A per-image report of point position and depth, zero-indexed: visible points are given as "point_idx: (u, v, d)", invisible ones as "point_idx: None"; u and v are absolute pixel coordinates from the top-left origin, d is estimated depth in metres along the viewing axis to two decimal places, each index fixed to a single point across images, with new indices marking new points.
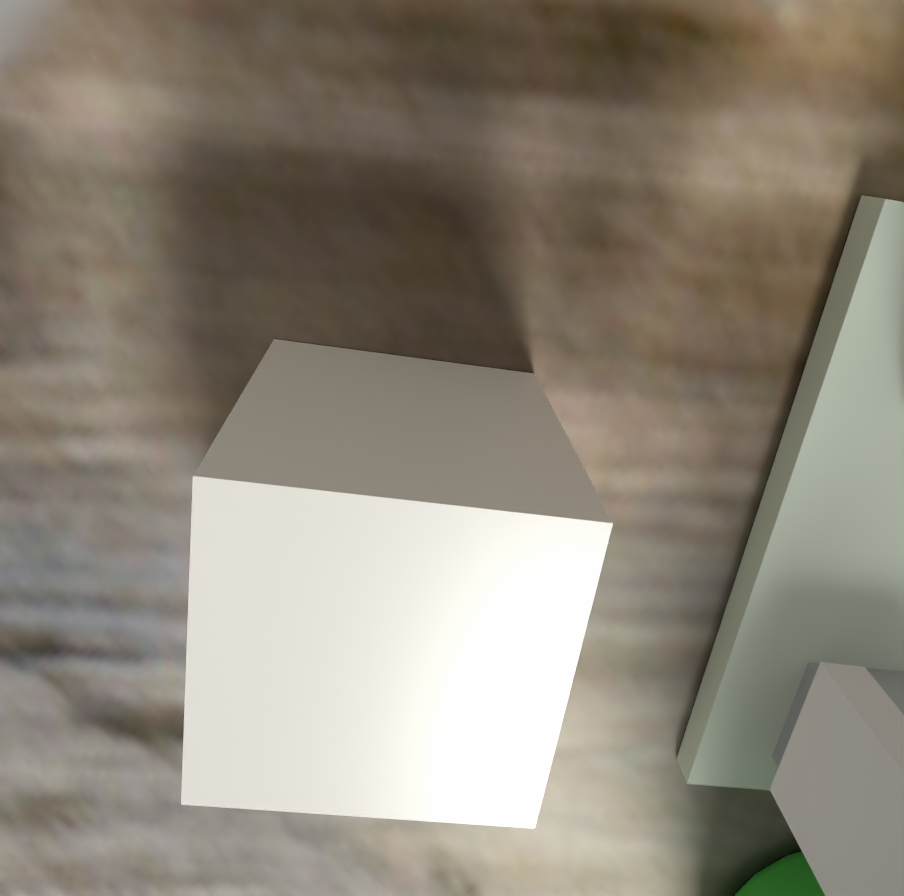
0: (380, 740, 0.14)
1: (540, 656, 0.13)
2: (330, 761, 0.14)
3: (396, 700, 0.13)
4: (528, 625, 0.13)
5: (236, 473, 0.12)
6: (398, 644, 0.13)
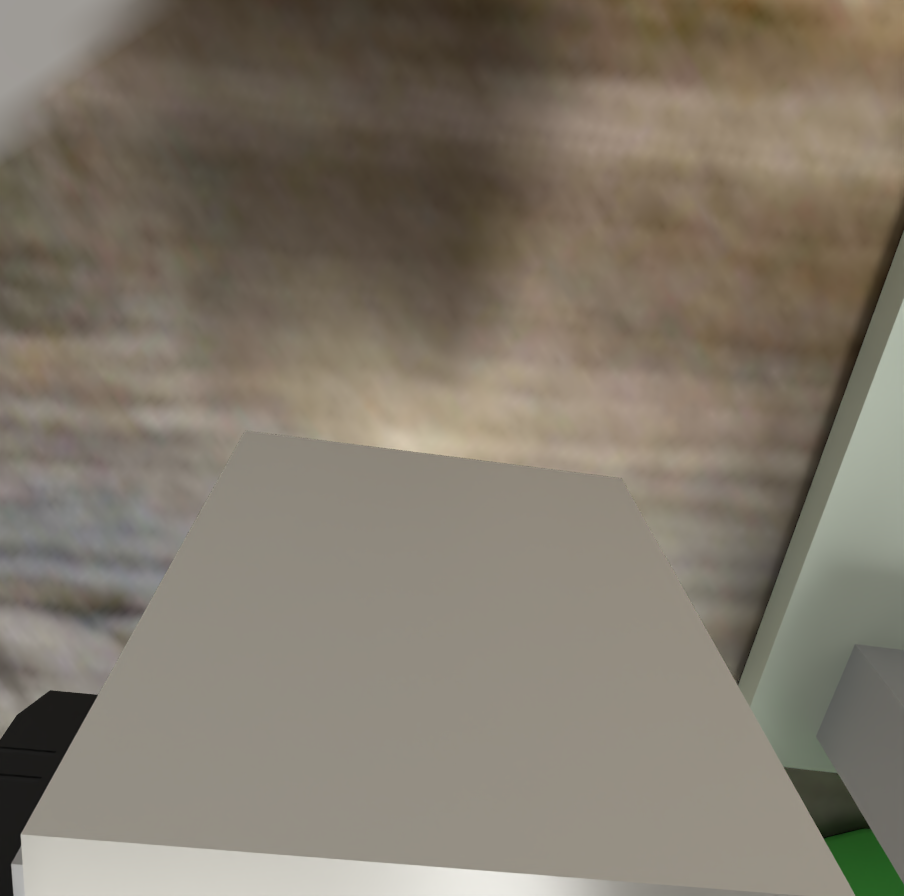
0: None
1: None
2: None
3: None
4: None
5: (117, 815, 0.06)
6: None
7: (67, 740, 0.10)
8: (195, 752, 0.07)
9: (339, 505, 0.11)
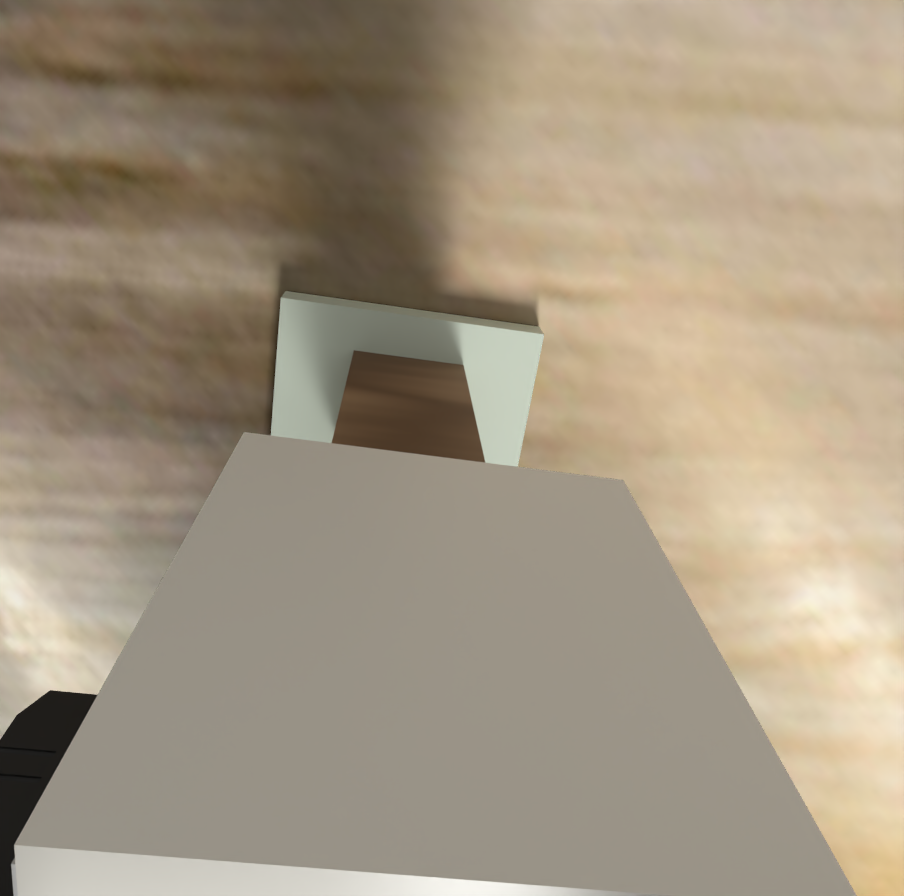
0: None
1: None
2: None
3: None
4: None
5: (111, 824, 0.06)
6: None
7: (67, 740, 0.10)
8: (192, 760, 0.07)
9: (339, 508, 0.11)
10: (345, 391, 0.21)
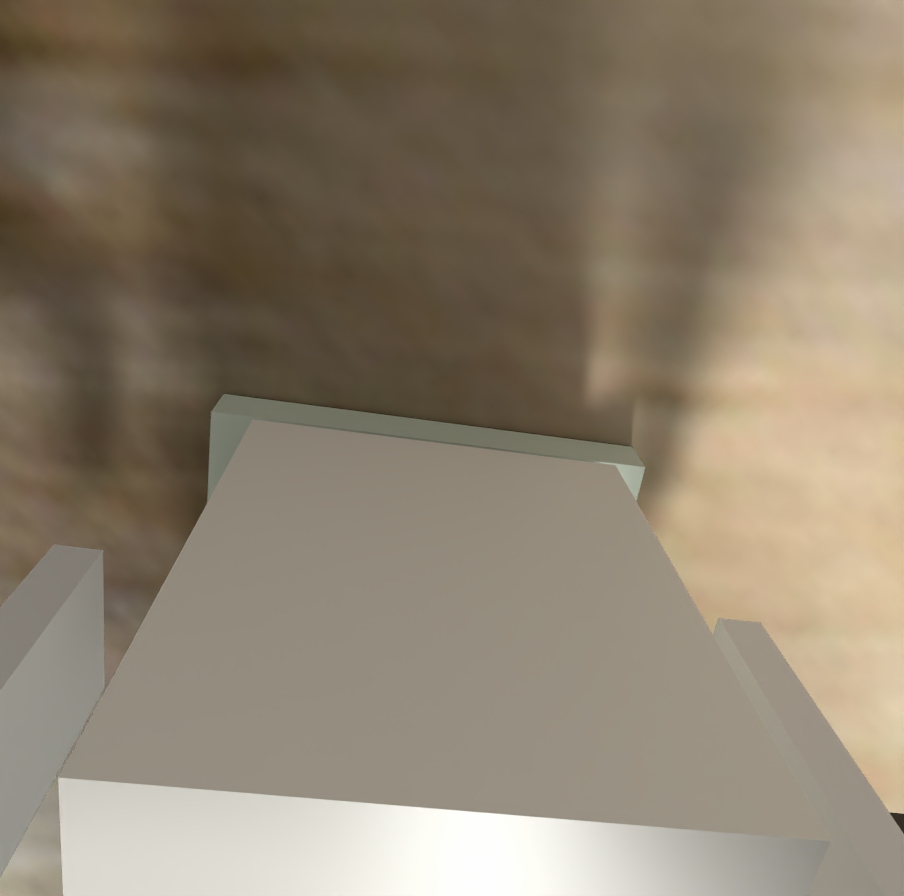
0: None
1: None
2: None
3: None
4: None
5: (146, 762, 0.06)
6: None
7: None
8: (216, 708, 0.07)
9: (345, 488, 0.12)
10: None
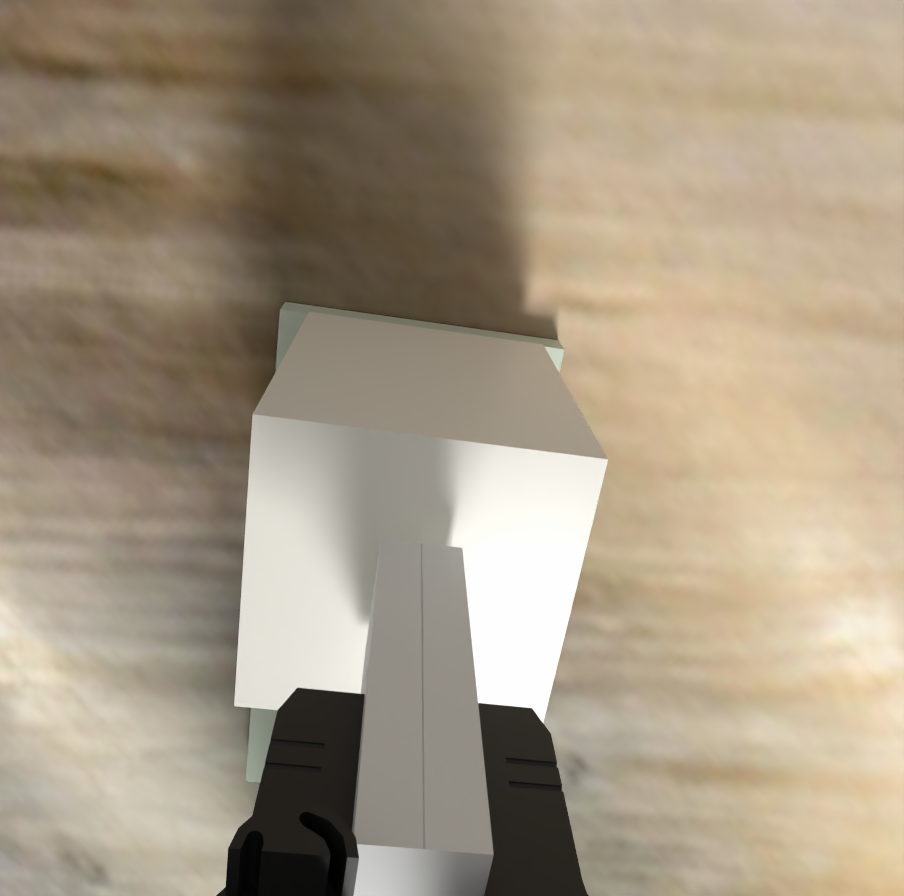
0: None
1: (545, 577, 0.15)
2: None
3: None
4: (535, 549, 0.15)
5: (288, 414, 0.14)
6: None
7: (330, 733, 0.11)
8: (316, 404, 0.15)
9: (370, 342, 0.19)
10: None
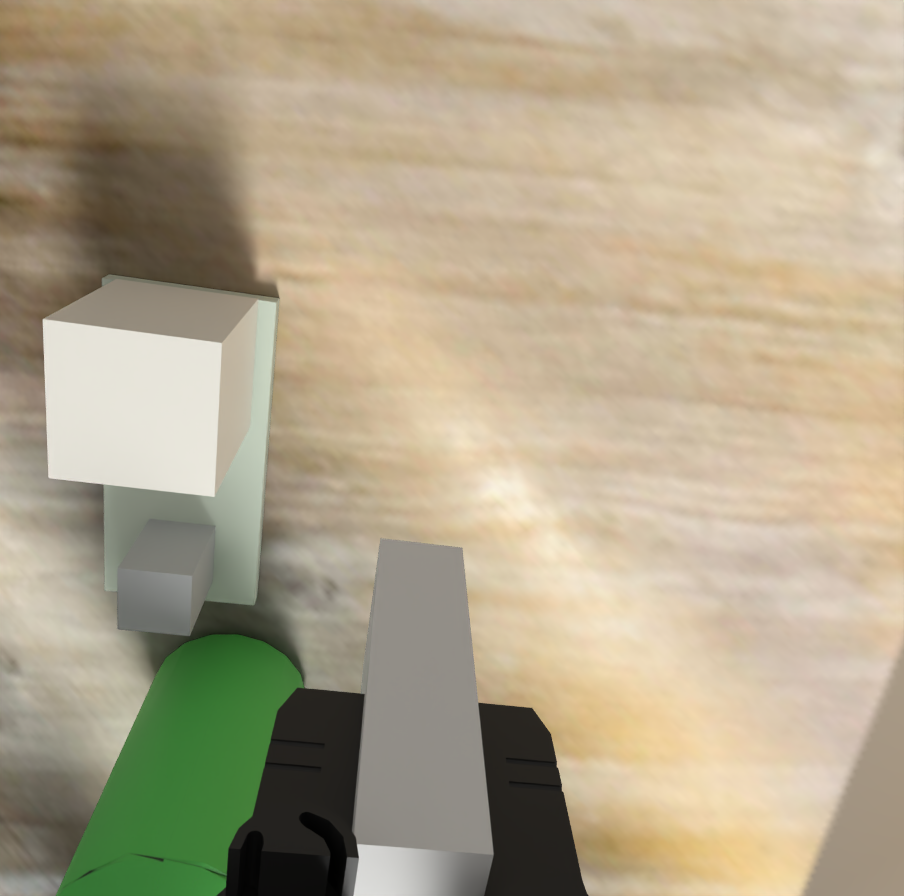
0: (136, 446, 0.31)
1: (201, 406, 0.31)
2: (114, 457, 0.31)
3: (140, 426, 0.31)
4: (193, 390, 0.30)
5: (62, 319, 0.29)
6: (137, 398, 0.30)
7: (330, 733, 0.11)
8: (80, 317, 0.30)
9: (140, 294, 0.34)
10: None
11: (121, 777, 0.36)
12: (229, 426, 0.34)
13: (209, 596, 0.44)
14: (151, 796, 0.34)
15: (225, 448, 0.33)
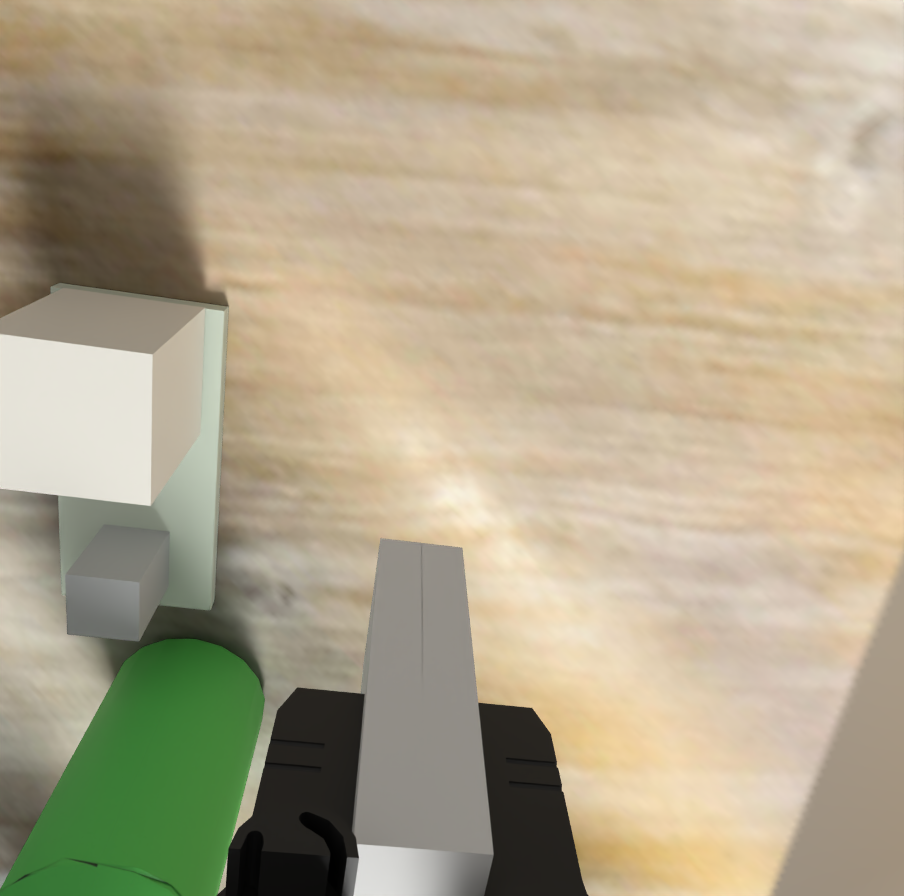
0: (71, 456, 0.31)
1: (134, 416, 0.31)
2: (50, 466, 0.31)
3: (74, 436, 0.31)
4: (126, 401, 0.31)
5: None
6: (71, 409, 0.31)
7: (330, 733, 0.11)
8: (14, 328, 0.30)
9: (84, 303, 0.35)
10: None
11: (67, 781, 0.37)
12: (169, 435, 0.34)
13: (165, 601, 0.44)
14: (92, 801, 0.34)
15: (164, 457, 0.33)
